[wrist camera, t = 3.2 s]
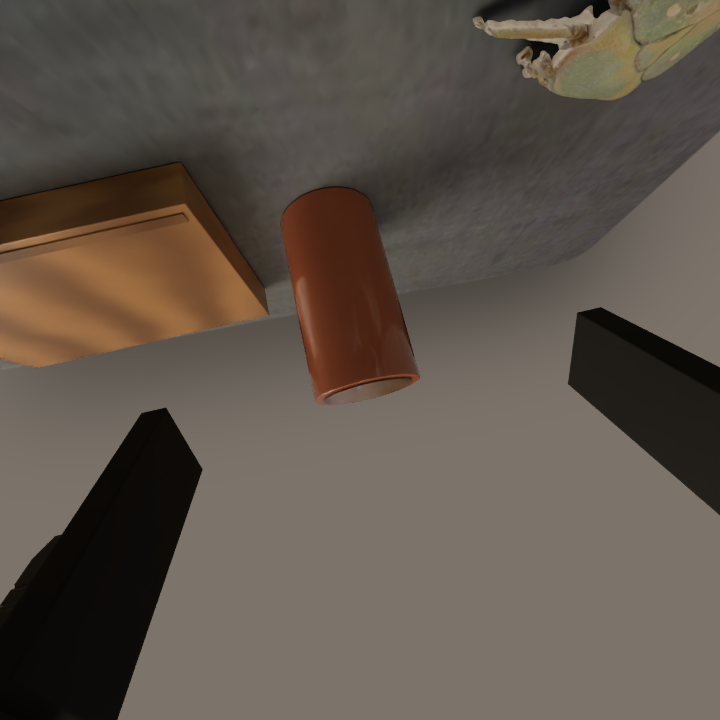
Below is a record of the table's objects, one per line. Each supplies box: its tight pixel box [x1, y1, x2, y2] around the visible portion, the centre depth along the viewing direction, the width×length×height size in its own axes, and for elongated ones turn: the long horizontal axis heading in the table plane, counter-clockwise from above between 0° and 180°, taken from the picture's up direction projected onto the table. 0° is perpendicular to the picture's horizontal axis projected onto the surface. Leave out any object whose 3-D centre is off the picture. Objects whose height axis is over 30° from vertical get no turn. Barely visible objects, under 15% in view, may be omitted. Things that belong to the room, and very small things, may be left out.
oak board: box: [0, 162, 269, 368], centre depth 24 cm, size 20×14×3 cm
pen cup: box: [280, 187, 420, 405], centre depth 23 cm, size 6×6×12 cm
